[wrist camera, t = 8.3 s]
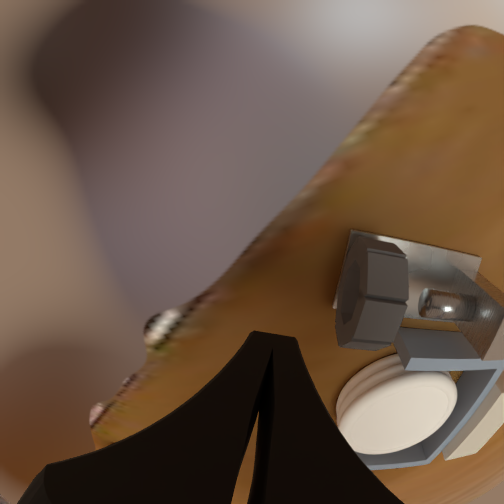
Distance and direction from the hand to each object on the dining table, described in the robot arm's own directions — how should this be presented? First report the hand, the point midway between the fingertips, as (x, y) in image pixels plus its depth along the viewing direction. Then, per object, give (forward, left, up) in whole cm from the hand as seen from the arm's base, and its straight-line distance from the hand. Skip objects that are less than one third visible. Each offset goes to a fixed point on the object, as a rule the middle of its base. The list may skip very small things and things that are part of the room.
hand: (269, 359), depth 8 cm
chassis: (-11, -16, -9) cm, 21 cm away
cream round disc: (-10, -11, -10) cm, 18 cm away
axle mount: (0, -9, -9) cm, 13 cm away
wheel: (0, -5, -9) cm, 10 cm away
